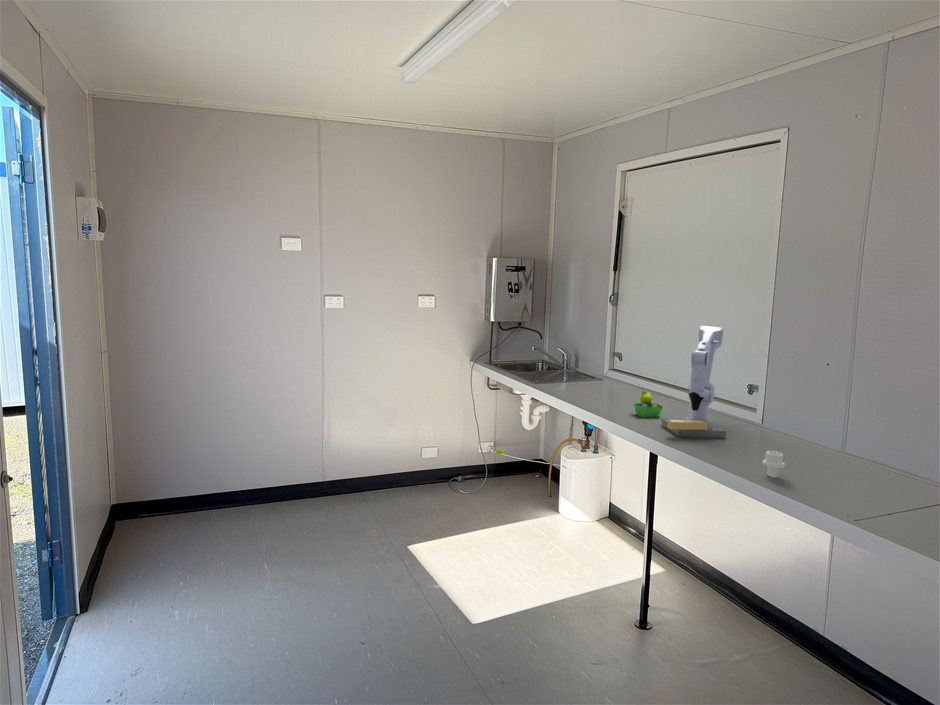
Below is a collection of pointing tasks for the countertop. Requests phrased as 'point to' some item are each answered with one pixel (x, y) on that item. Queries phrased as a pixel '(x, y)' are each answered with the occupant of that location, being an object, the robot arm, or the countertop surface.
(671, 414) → the countertop surface
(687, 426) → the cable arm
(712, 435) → the plate
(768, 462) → the pipe fitting
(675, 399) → the countertop surface
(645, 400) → the fruit basket
